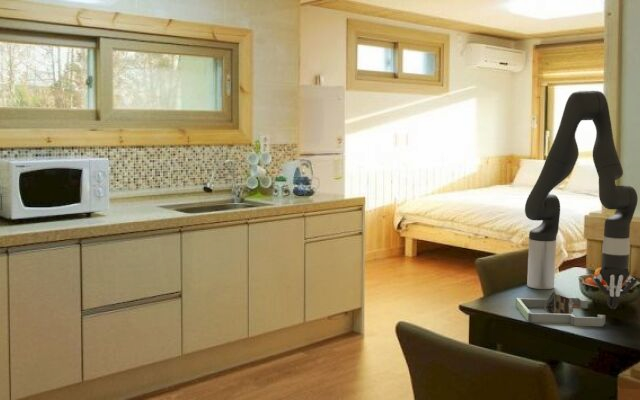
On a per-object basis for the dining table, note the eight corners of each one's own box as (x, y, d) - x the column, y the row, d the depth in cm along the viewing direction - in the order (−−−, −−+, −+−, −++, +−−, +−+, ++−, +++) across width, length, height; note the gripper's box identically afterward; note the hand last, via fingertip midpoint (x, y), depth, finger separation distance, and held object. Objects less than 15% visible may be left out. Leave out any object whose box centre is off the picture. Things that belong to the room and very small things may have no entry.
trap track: (514, 303, 220) (514, 296, 219) (584, 305, 218) (584, 297, 217) (529, 324, 197) (530, 315, 197) (607, 326, 195) (608, 318, 195)
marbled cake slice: (576, 323, 200) (580, 289, 207) (553, 315, 201) (557, 282, 208) (563, 336, 208) (567, 303, 215) (541, 329, 209) (545, 296, 216)
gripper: (633, 249, 207) (630, 305, 209) (589, 249, 208) (586, 304, 210) (643, 254, 199) (639, 311, 201) (597, 253, 201) (594, 310, 203)
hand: (612, 307), depth 206 cm, fingers closed
